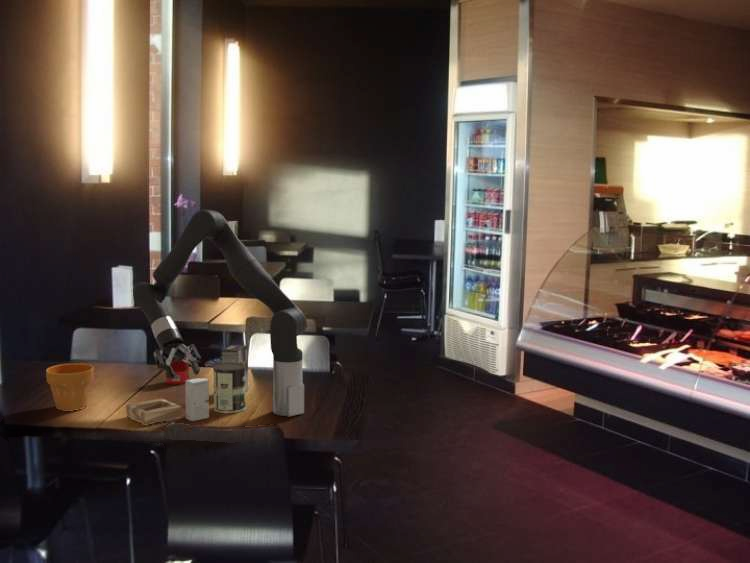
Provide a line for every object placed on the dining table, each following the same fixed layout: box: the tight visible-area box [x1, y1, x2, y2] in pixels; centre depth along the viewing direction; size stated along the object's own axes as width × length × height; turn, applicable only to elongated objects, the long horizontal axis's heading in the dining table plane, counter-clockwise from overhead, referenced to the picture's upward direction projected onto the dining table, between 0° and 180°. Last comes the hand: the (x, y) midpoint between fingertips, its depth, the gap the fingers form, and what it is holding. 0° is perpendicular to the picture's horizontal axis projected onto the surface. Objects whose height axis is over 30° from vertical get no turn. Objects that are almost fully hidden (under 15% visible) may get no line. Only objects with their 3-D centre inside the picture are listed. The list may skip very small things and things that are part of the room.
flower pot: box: [45, 362, 95, 410], centre depth 257 cm, size 14×14×13 cm
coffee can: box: [212, 362, 247, 414], centre depth 259 cm, size 10×10×14 cm
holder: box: [125, 397, 182, 424], centre depth 249 cm, size 12×12×4 cm
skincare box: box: [185, 377, 210, 422], centre depth 249 cm, size 6×4×12 cm
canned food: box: [165, 355, 190, 386], centre depth 291 cm, size 8×8×11 cm
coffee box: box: [220, 344, 249, 393], centre depth 278 cm, size 9×6×16 cm
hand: (185, 375), depth 253 cm, fingers open, 8 cm apart
